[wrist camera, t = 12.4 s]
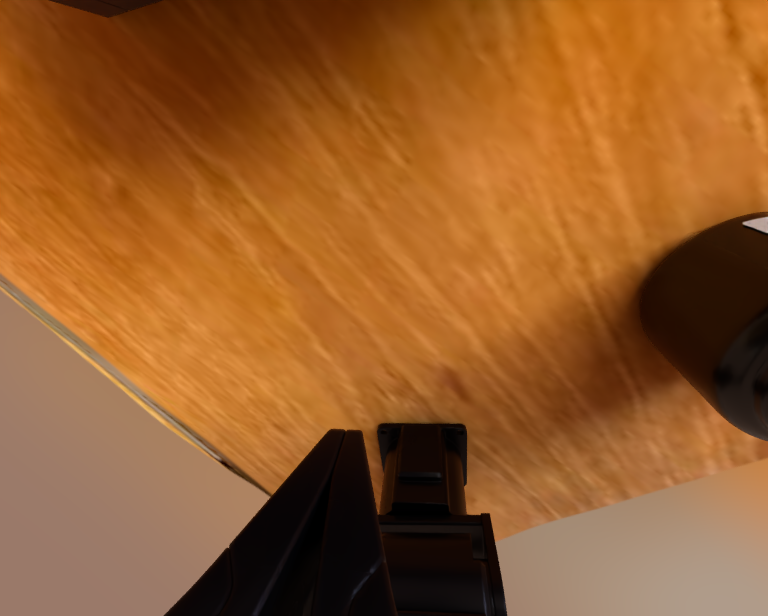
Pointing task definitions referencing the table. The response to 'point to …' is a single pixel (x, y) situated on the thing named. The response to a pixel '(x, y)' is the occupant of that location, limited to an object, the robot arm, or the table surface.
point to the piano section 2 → (130, 3)
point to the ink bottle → (717, 318)
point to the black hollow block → (94, 7)
